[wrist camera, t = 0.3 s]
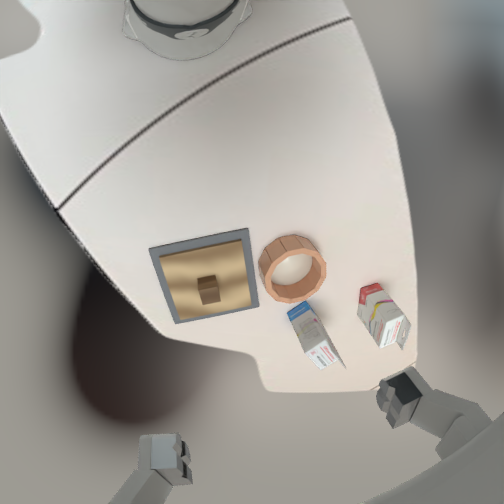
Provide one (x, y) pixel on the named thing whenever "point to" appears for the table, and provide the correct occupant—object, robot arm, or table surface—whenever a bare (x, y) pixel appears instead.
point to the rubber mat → (202, 242)
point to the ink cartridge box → (382, 317)
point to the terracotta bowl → (291, 269)
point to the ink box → (313, 336)
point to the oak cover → (207, 279)
